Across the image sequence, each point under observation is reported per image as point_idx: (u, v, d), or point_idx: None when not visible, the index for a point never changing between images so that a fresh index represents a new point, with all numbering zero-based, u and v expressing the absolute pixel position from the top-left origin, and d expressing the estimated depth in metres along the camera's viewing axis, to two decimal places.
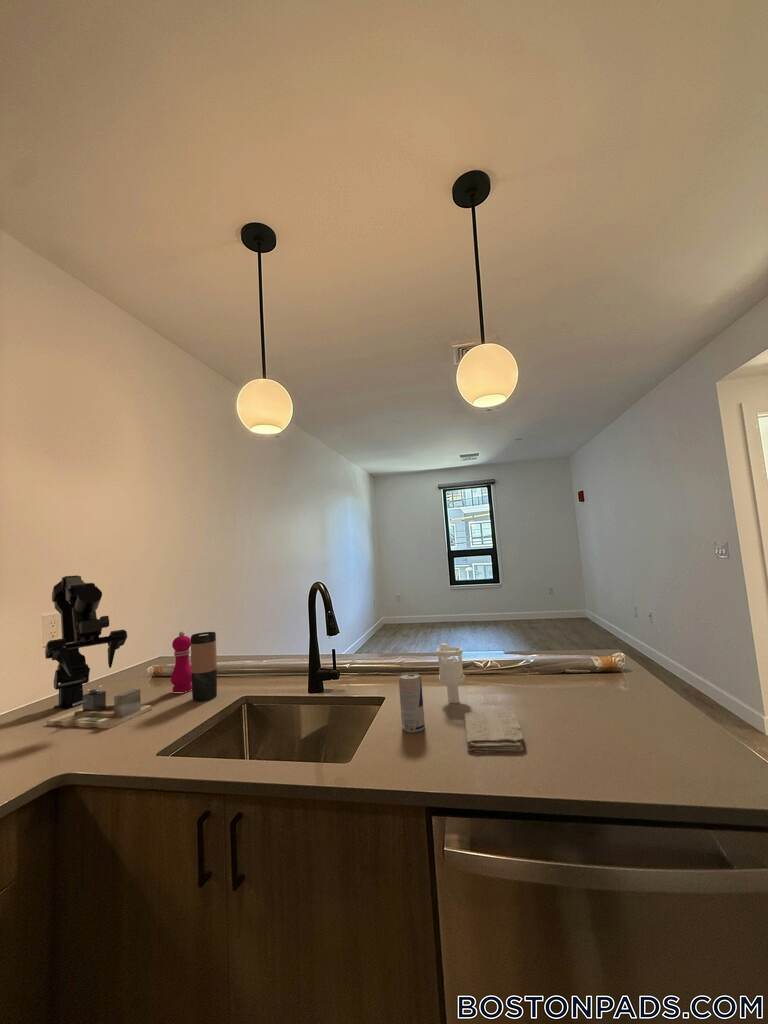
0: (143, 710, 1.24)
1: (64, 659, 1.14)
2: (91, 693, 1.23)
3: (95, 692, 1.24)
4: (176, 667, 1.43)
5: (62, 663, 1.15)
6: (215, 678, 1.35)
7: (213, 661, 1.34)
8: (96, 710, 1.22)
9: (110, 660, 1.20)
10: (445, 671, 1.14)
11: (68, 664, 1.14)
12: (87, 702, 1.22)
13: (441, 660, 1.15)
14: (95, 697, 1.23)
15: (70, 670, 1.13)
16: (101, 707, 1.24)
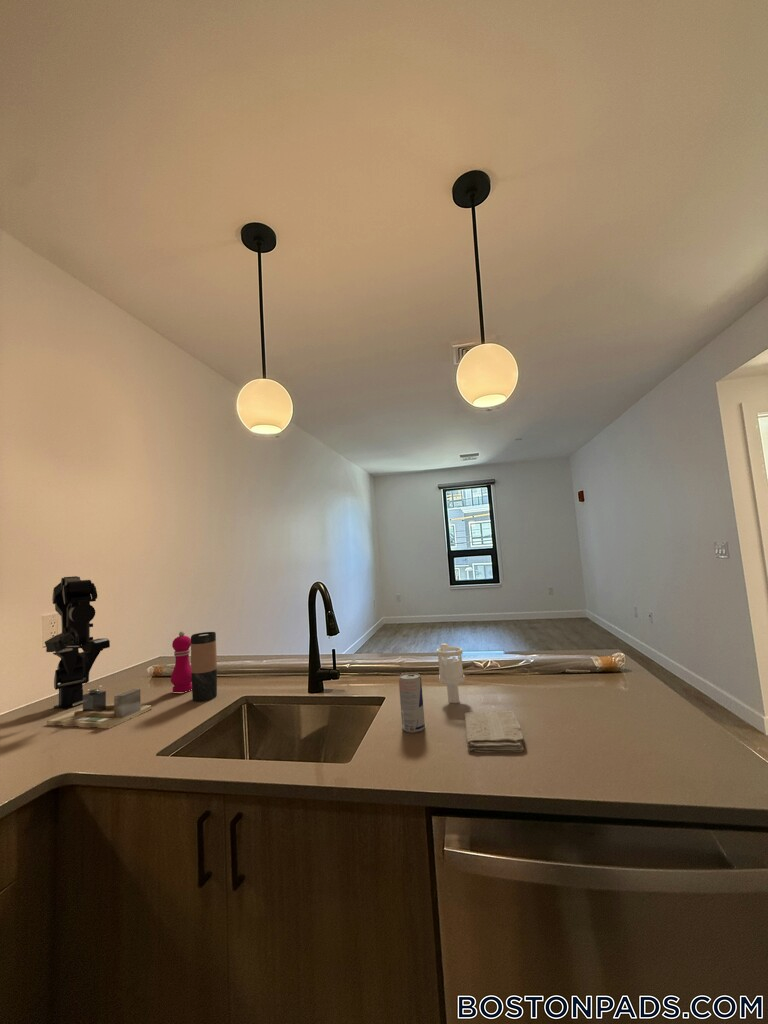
0: (143, 710, 1.24)
1: (62, 661, 1.27)
2: (91, 693, 1.23)
3: (95, 692, 1.24)
4: (176, 667, 1.43)
5: None
6: (215, 678, 1.35)
7: (213, 661, 1.34)
8: (96, 710, 1.22)
9: (83, 669, 1.25)
10: (445, 671, 1.14)
11: (65, 665, 1.27)
12: (87, 702, 1.22)
13: (441, 660, 1.15)
14: (95, 697, 1.23)
15: (67, 671, 1.27)
16: (101, 707, 1.24)
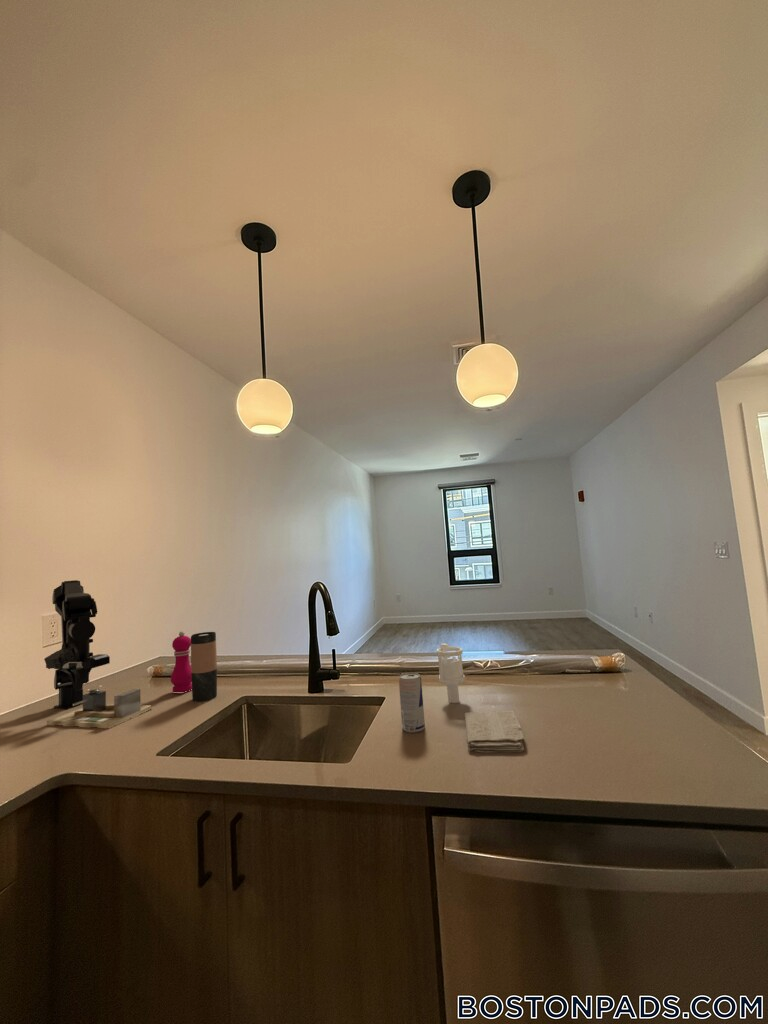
0: (143, 710, 1.24)
1: (70, 677, 1.26)
2: (91, 693, 1.23)
3: (95, 692, 1.24)
4: (176, 667, 1.43)
5: None
6: (215, 678, 1.35)
7: (213, 661, 1.34)
8: (96, 710, 1.22)
9: (75, 685, 1.26)
10: (445, 671, 1.14)
11: (72, 682, 1.26)
12: (87, 702, 1.22)
13: (441, 660, 1.15)
14: (95, 697, 1.23)
15: (74, 687, 1.26)
16: (101, 707, 1.24)
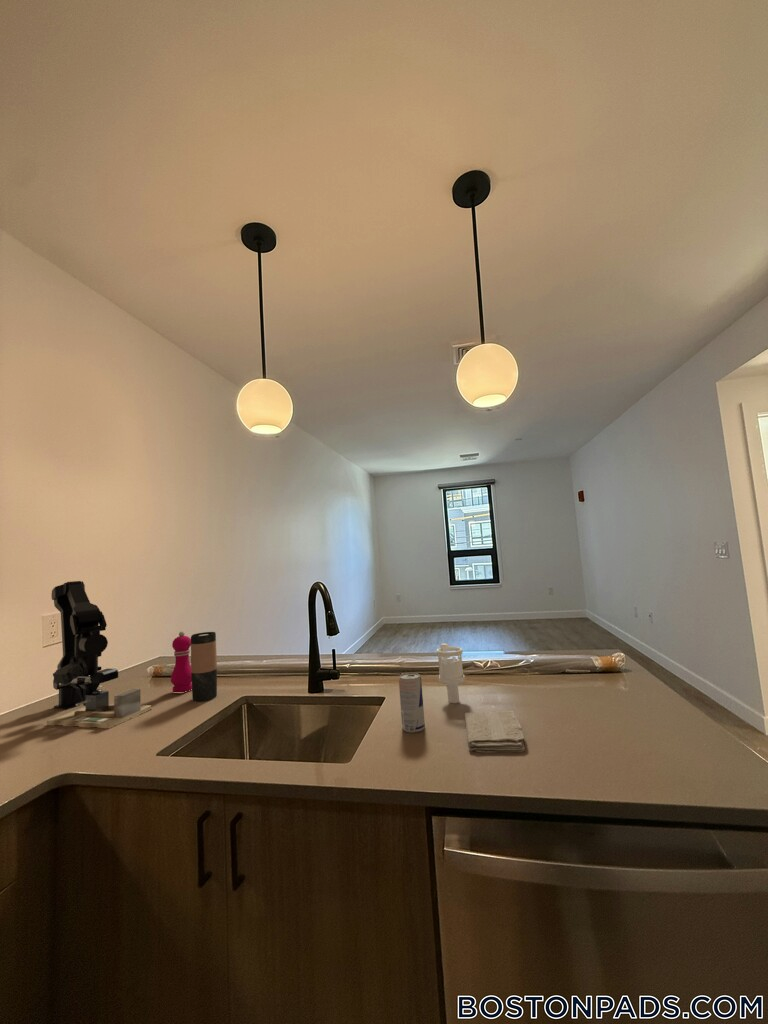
0: (143, 710, 1.24)
1: (78, 691, 1.24)
2: (94, 693, 1.23)
3: (98, 692, 1.23)
4: (176, 667, 1.43)
5: None
6: (215, 678, 1.35)
7: (213, 661, 1.34)
8: (99, 710, 1.22)
9: (84, 700, 1.24)
10: (445, 671, 1.14)
11: (81, 697, 1.24)
12: (90, 702, 1.22)
13: (441, 660, 1.15)
14: (98, 697, 1.22)
15: None
16: (104, 707, 1.24)
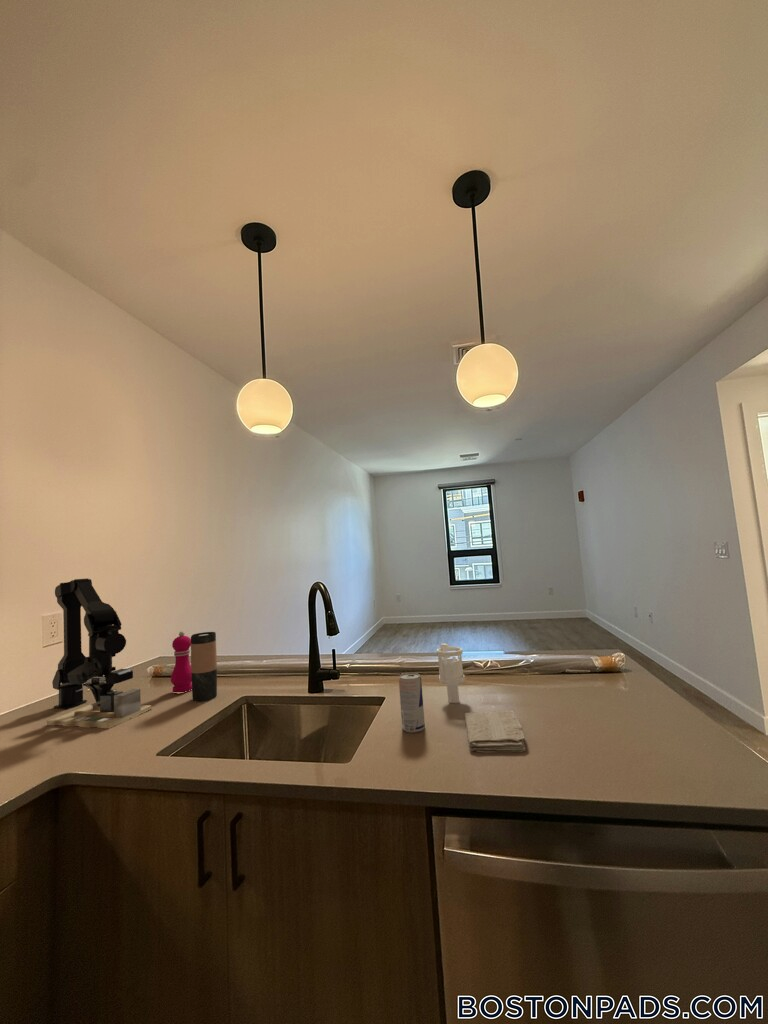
0: (143, 710, 1.24)
1: (92, 692, 1.23)
2: (108, 693, 1.21)
3: (112, 692, 1.22)
4: (176, 667, 1.43)
5: None
6: (215, 678, 1.35)
7: (213, 661, 1.34)
8: None
9: (98, 701, 1.23)
10: (445, 671, 1.14)
11: (95, 697, 1.23)
12: (105, 703, 1.20)
13: (441, 660, 1.15)
14: (113, 698, 1.21)
15: None
16: None
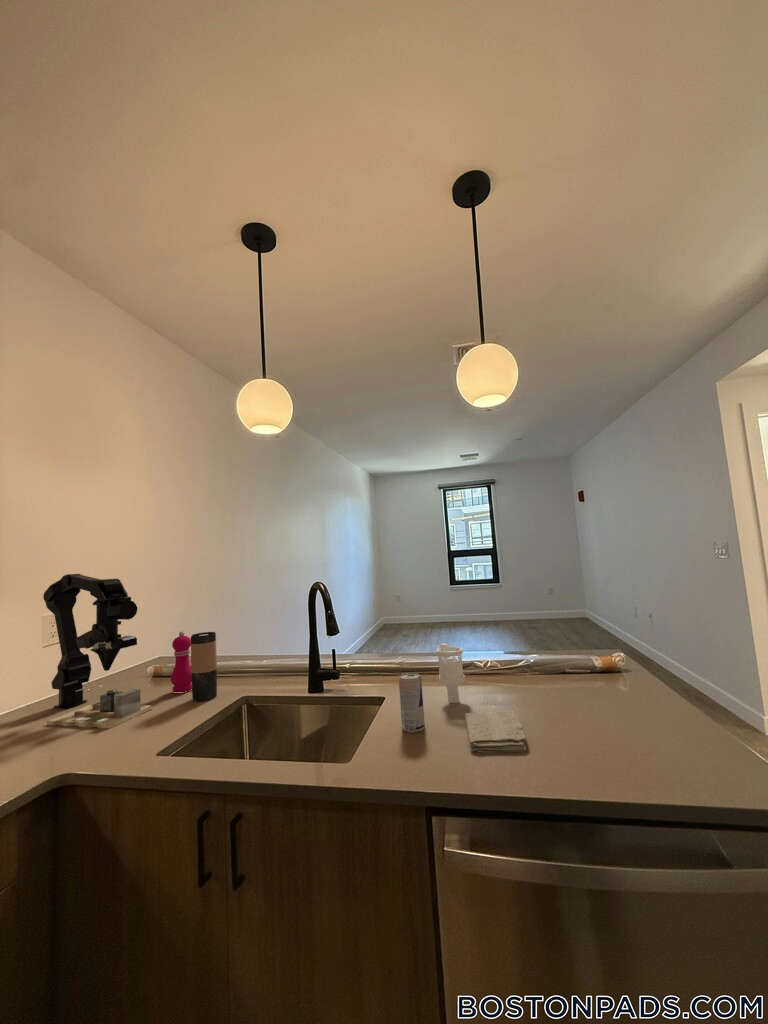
0: (143, 710, 1.24)
1: (99, 657, 1.30)
2: (108, 693, 1.21)
3: (112, 692, 1.22)
4: (176, 667, 1.43)
5: None
6: (215, 678, 1.35)
7: (213, 661, 1.34)
8: None
9: (105, 665, 1.30)
10: (445, 671, 1.14)
11: (102, 662, 1.30)
12: (105, 703, 1.20)
13: (441, 660, 1.15)
14: (113, 698, 1.21)
15: (104, 667, 1.30)
16: None
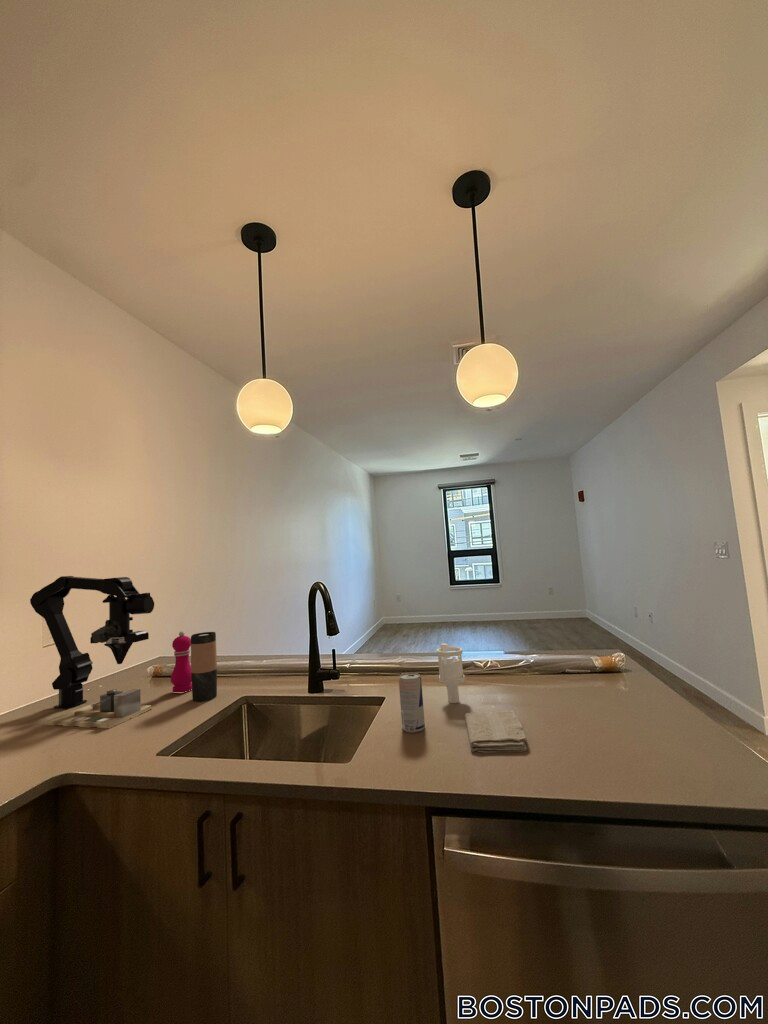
0: (143, 710, 1.24)
1: (112, 651, 1.37)
2: (108, 693, 1.21)
3: (112, 692, 1.22)
4: (176, 667, 1.43)
5: None
6: (215, 678, 1.35)
7: (213, 661, 1.34)
8: None
9: (118, 659, 1.37)
10: (445, 671, 1.14)
11: (115, 656, 1.37)
12: (105, 703, 1.20)
13: (441, 660, 1.15)
14: (113, 698, 1.21)
15: (117, 661, 1.37)
16: None
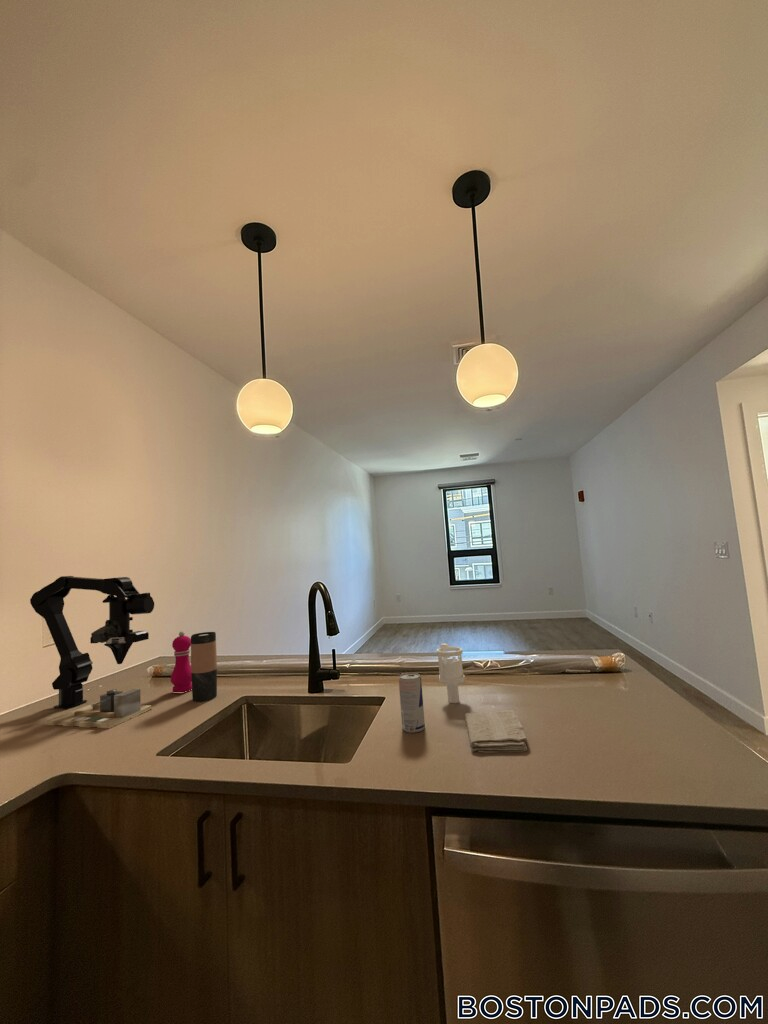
0: (143, 710, 1.24)
1: (112, 651, 1.37)
2: (108, 693, 1.21)
3: (112, 692, 1.22)
4: (176, 667, 1.43)
5: None
6: (215, 678, 1.35)
7: (213, 661, 1.34)
8: None
9: (118, 659, 1.37)
10: (445, 671, 1.14)
11: (115, 656, 1.37)
12: (105, 703, 1.20)
13: (441, 660, 1.15)
14: (113, 698, 1.21)
15: (117, 661, 1.37)
16: None
